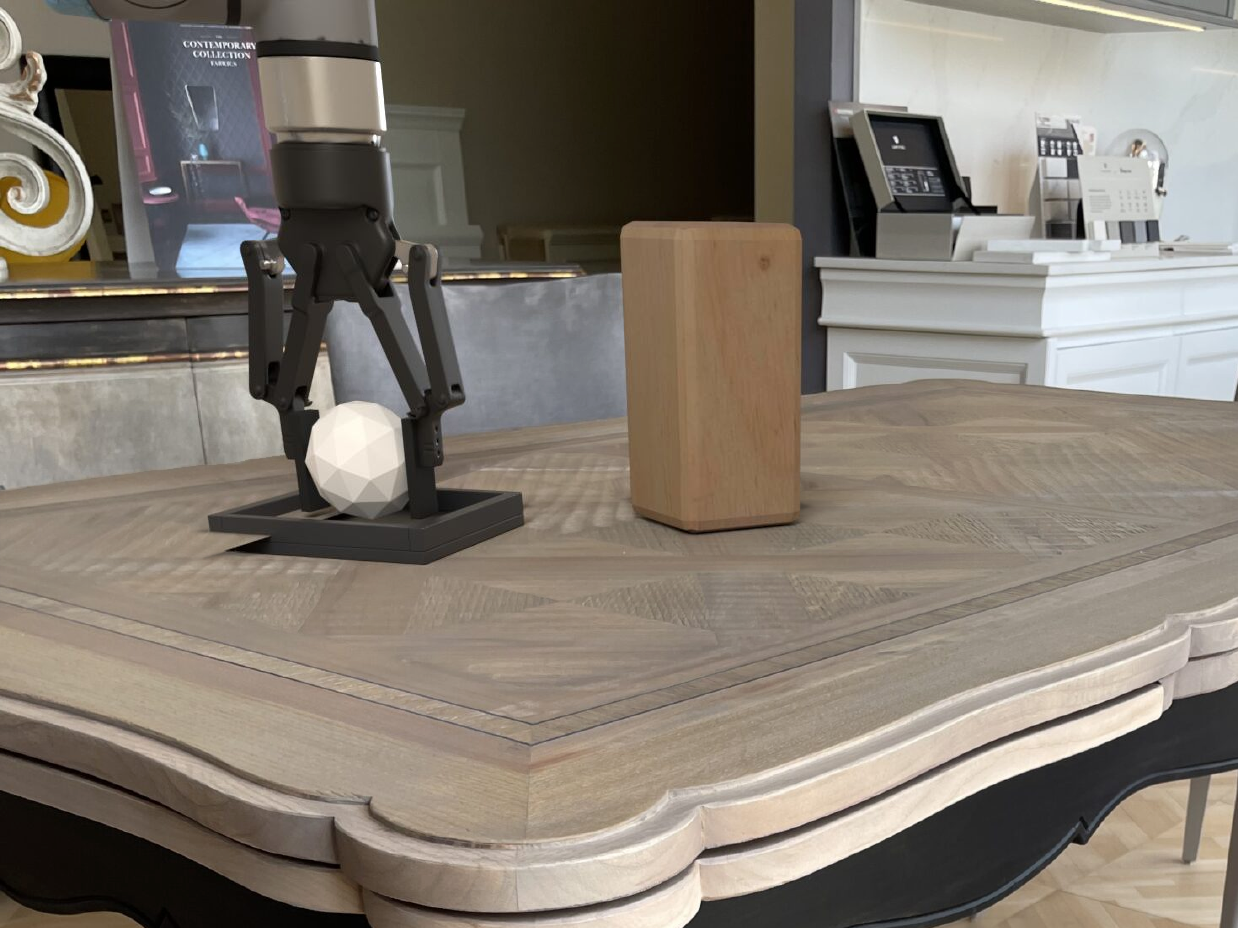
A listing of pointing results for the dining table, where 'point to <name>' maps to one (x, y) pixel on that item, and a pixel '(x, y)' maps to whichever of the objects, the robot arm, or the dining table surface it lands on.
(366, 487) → the geometric ball
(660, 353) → the wooden block
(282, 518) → the tray
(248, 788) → the dining table surface
